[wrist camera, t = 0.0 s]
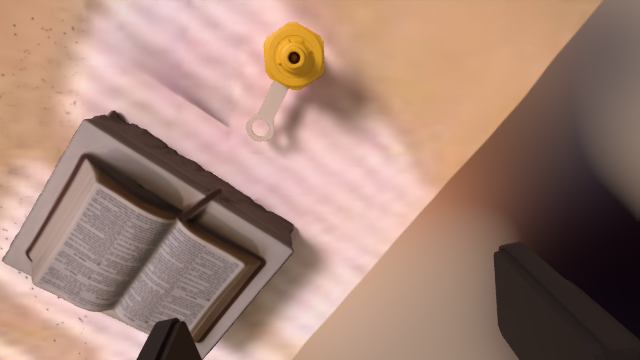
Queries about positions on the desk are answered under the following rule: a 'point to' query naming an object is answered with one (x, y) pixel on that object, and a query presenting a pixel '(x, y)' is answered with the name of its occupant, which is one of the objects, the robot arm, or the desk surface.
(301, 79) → the pressure relief valve
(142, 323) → the bible
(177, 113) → the desk surface
